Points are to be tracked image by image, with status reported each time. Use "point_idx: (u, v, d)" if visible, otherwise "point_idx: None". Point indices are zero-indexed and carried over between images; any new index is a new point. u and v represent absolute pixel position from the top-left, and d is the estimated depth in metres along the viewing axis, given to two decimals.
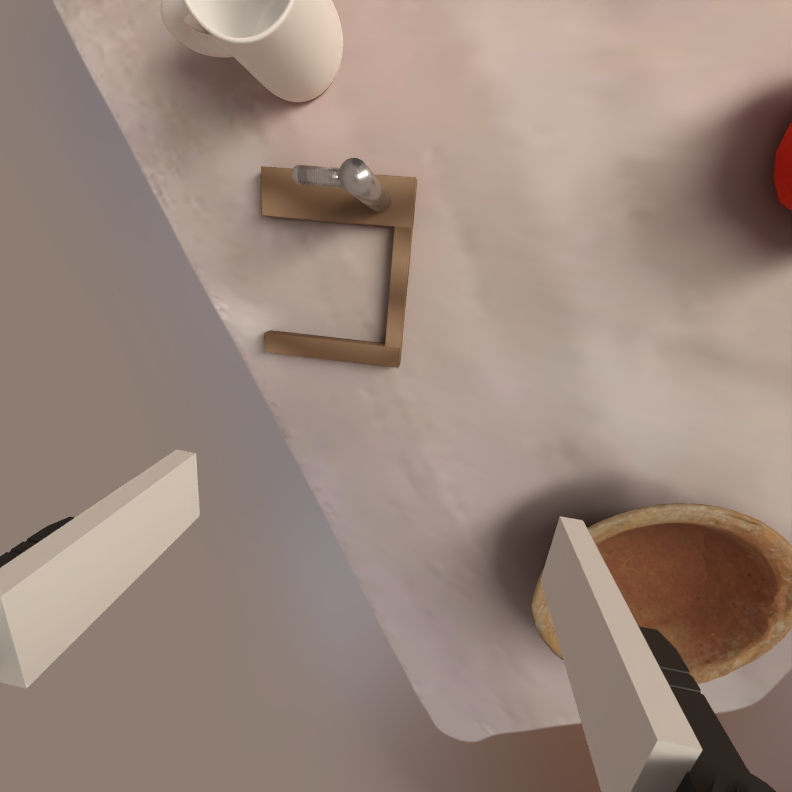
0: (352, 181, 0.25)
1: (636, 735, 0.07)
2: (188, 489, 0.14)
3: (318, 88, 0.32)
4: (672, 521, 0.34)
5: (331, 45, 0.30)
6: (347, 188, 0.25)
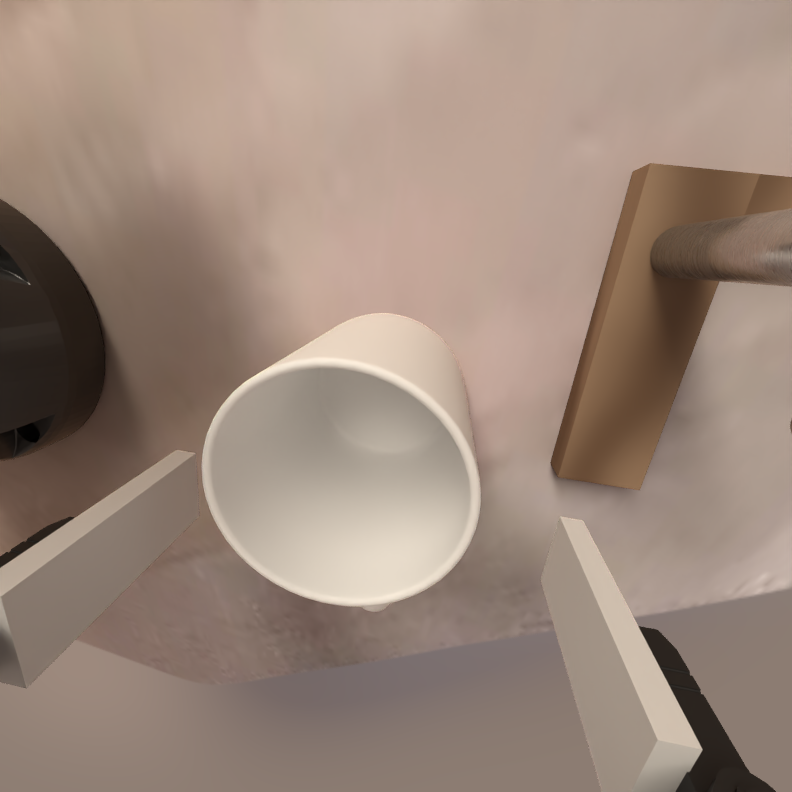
0: None
1: (636, 735, 0.07)
2: (188, 489, 0.14)
3: (456, 361, 0.18)
4: None
5: (411, 328, 0.16)
6: None
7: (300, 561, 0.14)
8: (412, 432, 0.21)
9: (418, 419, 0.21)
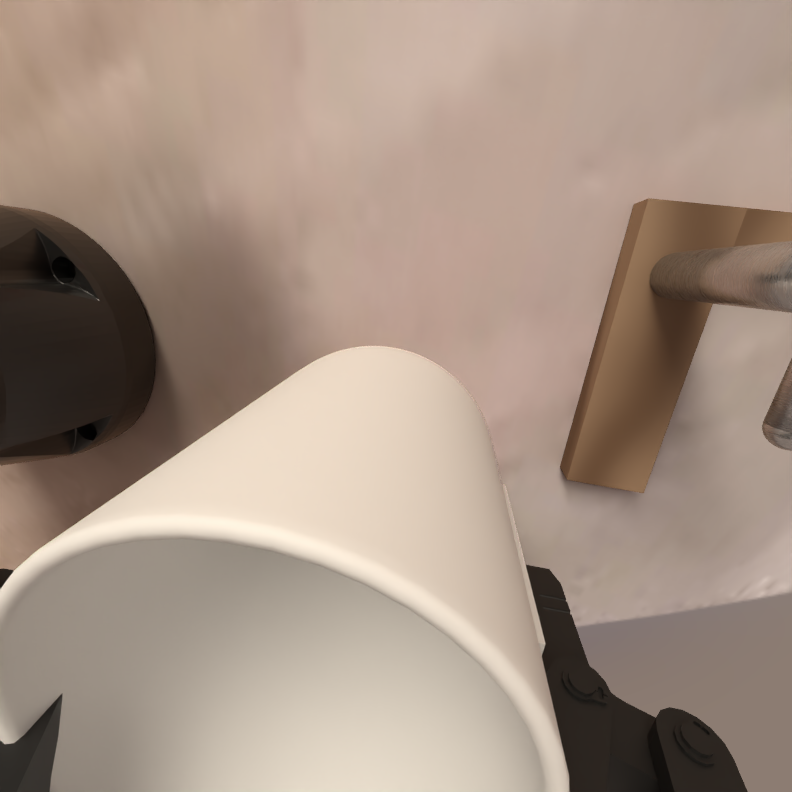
0: None
1: None
2: None
3: (483, 419, 0.12)
4: None
5: (416, 377, 0.10)
6: None
7: None
8: None
9: None
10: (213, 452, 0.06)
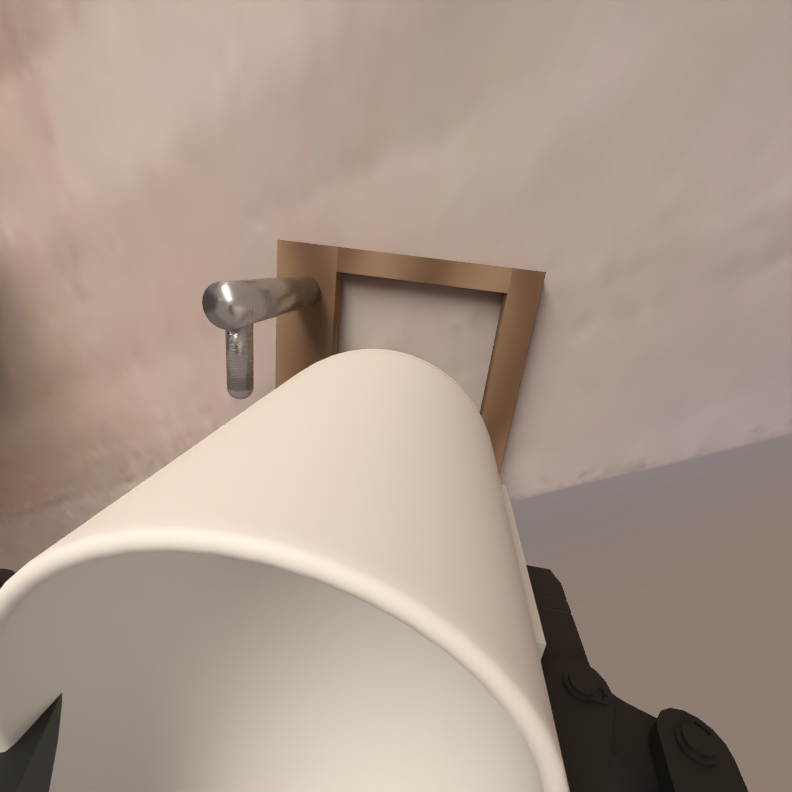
0: (232, 308, 0.17)
1: None
2: None
3: (483, 423, 0.12)
4: None
5: (415, 380, 0.10)
6: (242, 317, 0.17)
7: None
8: None
9: None
10: (208, 460, 0.06)
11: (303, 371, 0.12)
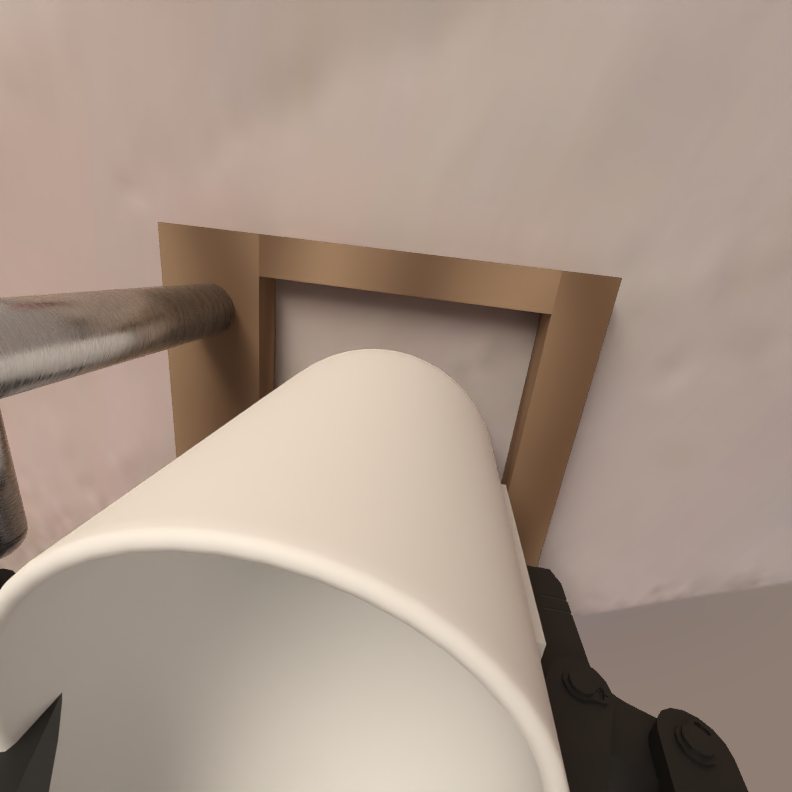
0: None
1: None
2: None
3: (483, 423, 0.12)
4: None
5: (415, 380, 0.10)
6: None
7: None
8: None
9: None
10: (209, 460, 0.06)
11: (303, 371, 0.12)
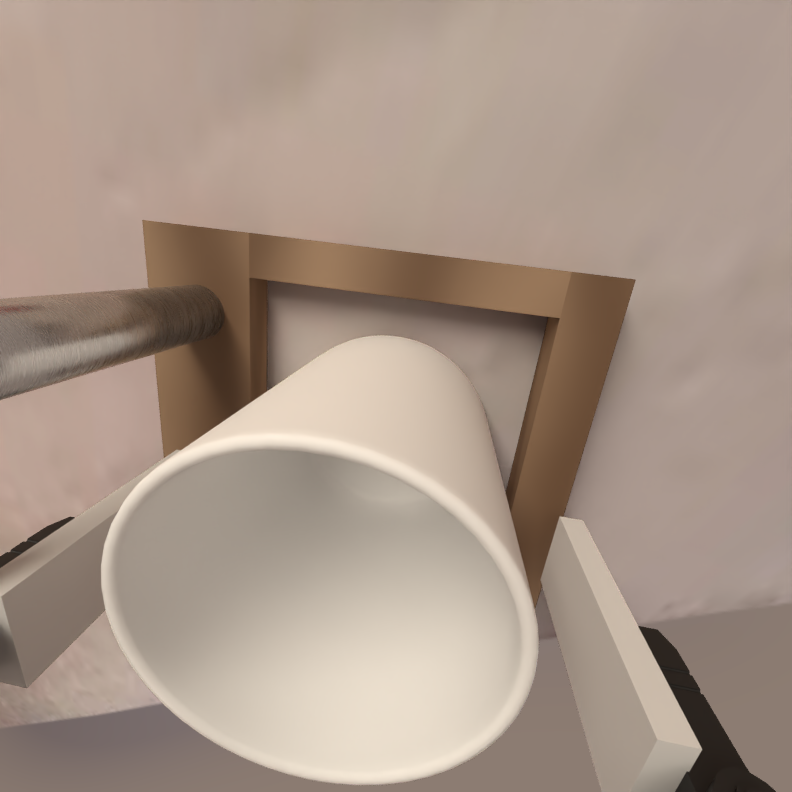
0: None
1: (636, 735, 0.07)
2: None
3: (478, 398, 0.14)
4: None
5: (421, 358, 0.12)
6: None
7: (263, 699, 0.09)
8: None
9: None
10: (274, 403, 0.08)
11: (325, 353, 0.14)
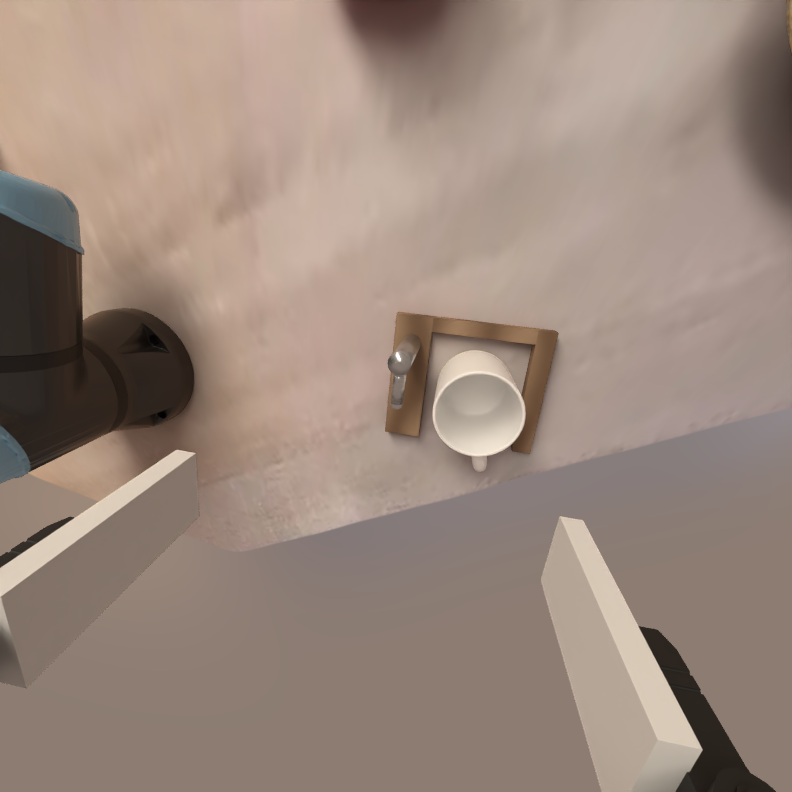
0: (403, 365, 0.34)
1: (636, 735, 0.07)
2: (188, 489, 0.14)
3: None
4: None
5: (492, 358, 0.40)
6: (407, 369, 0.34)
7: (457, 444, 0.38)
8: (485, 404, 0.45)
9: (488, 398, 0.45)
10: (468, 367, 0.36)
11: (458, 356, 0.42)
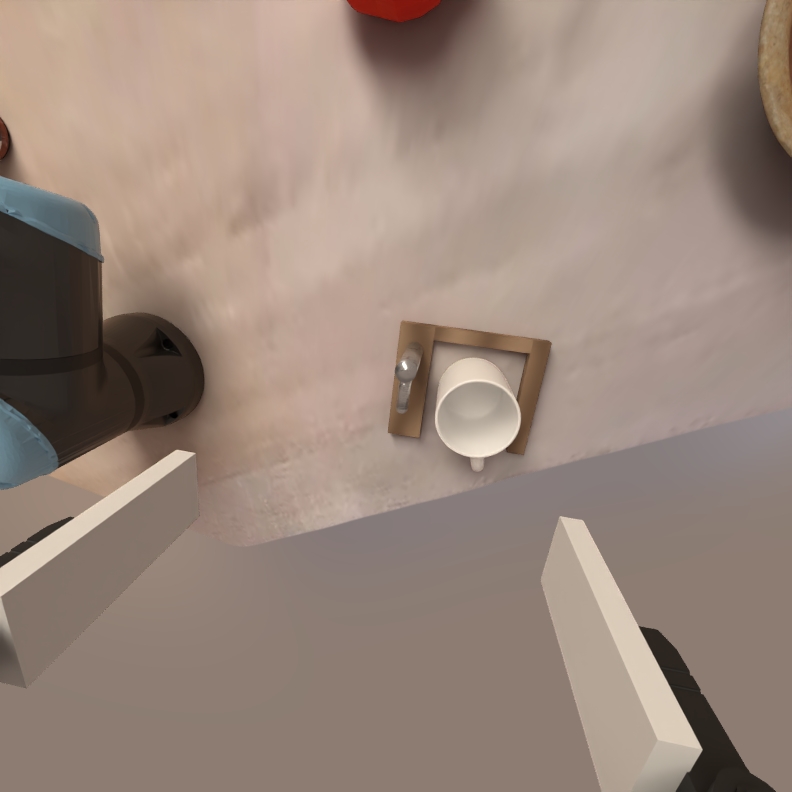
0: (409, 373, 0.36)
1: (636, 735, 0.07)
2: (188, 489, 0.14)
3: None
4: (788, 28, 0.28)
5: (490, 365, 0.43)
6: (413, 377, 0.36)
7: (457, 446, 0.40)
8: (482, 408, 0.48)
9: (485, 402, 0.48)
10: (469, 375, 0.39)
11: (458, 363, 0.44)
